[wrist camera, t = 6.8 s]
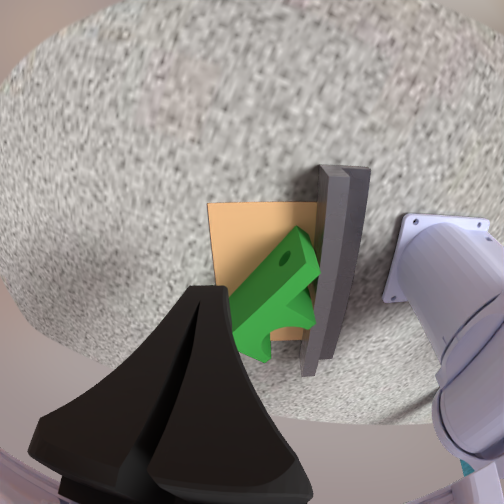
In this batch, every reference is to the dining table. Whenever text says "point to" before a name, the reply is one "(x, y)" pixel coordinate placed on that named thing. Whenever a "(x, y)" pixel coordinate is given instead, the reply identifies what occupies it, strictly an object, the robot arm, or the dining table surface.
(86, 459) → the robot arm
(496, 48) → the dining table surface
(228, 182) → the dining table surface
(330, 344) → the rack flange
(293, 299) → the pipe clamp
